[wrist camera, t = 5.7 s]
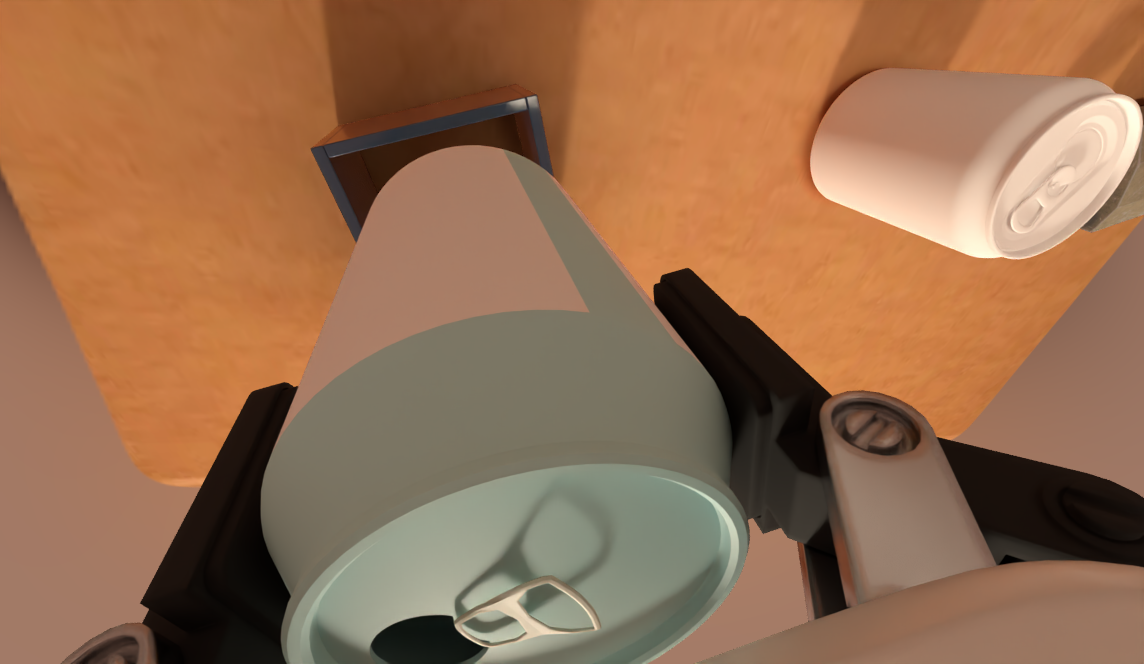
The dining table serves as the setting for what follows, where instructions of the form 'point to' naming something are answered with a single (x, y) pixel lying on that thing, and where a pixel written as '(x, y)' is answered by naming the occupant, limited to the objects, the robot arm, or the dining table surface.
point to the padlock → (1123, 195)
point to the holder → (346, 140)
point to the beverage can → (976, 155)
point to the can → (497, 442)
